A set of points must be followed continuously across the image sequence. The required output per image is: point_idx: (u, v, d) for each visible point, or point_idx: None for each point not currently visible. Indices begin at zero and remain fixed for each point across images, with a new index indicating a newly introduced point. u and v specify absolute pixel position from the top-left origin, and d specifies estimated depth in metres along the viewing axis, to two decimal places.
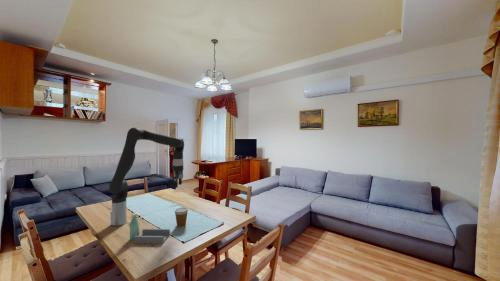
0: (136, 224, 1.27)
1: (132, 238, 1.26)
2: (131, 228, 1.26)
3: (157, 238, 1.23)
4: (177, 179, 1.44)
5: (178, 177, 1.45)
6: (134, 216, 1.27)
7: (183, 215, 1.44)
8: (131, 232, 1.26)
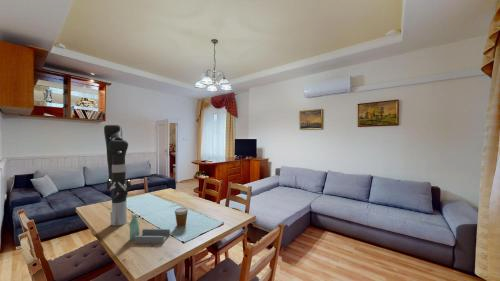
0: (136, 224, 1.27)
1: (132, 238, 1.26)
2: (131, 228, 1.26)
3: (157, 238, 1.23)
4: (126, 186, 1.29)
5: (125, 184, 1.30)
6: (134, 216, 1.27)
7: (183, 215, 1.44)
8: (131, 232, 1.26)
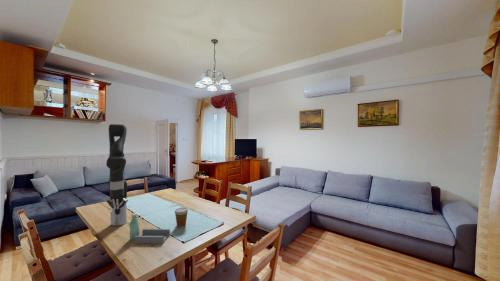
0: (136, 224, 1.27)
1: (132, 238, 1.26)
2: (131, 228, 1.26)
3: (157, 238, 1.23)
4: None
5: (121, 202, 1.30)
6: (134, 216, 1.27)
7: (183, 215, 1.44)
8: (131, 232, 1.26)
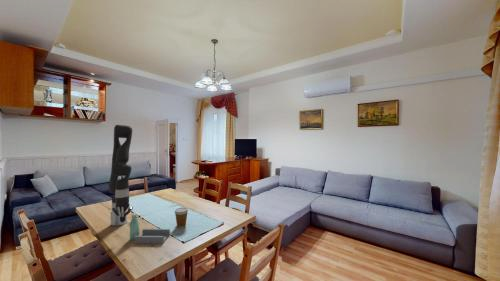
0: (136, 224, 1.27)
1: (132, 238, 1.26)
2: (131, 228, 1.26)
3: (157, 238, 1.23)
4: None
5: (126, 209, 1.29)
6: (134, 216, 1.27)
7: (183, 215, 1.44)
8: (131, 232, 1.26)
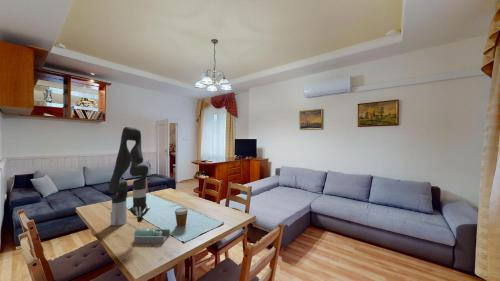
0: None
1: (136, 235, 1.26)
2: (146, 235, 1.26)
3: (157, 238, 1.23)
4: None
5: (143, 209, 1.29)
6: (158, 235, 1.27)
7: (183, 215, 1.44)
8: (142, 234, 1.26)
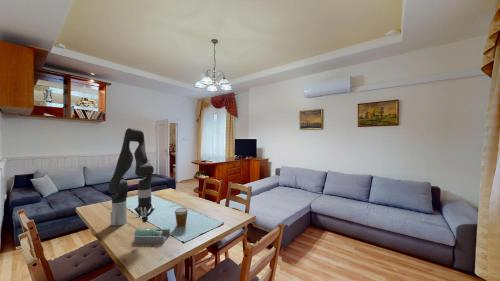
0: None
1: (136, 235, 1.26)
2: (146, 234, 1.26)
3: (157, 238, 1.23)
4: None
5: (148, 209, 1.29)
6: (159, 235, 1.28)
7: (183, 215, 1.44)
8: (142, 234, 1.26)
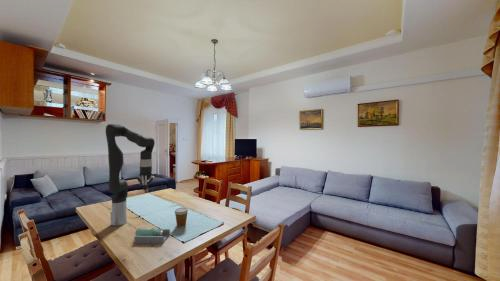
0: None
1: (137, 232, 1.28)
2: (148, 231, 1.28)
3: (157, 238, 1.23)
4: (148, 181, 1.39)
5: None
6: (159, 233, 1.28)
7: (183, 215, 1.44)
8: (144, 231, 1.28)
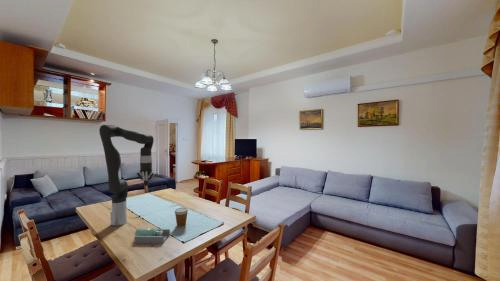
0: None
1: (137, 233, 1.27)
2: (147, 232, 1.27)
3: (157, 238, 1.23)
4: None
5: (149, 175, 1.44)
6: (159, 234, 1.28)
7: (183, 215, 1.44)
8: (143, 232, 1.27)
